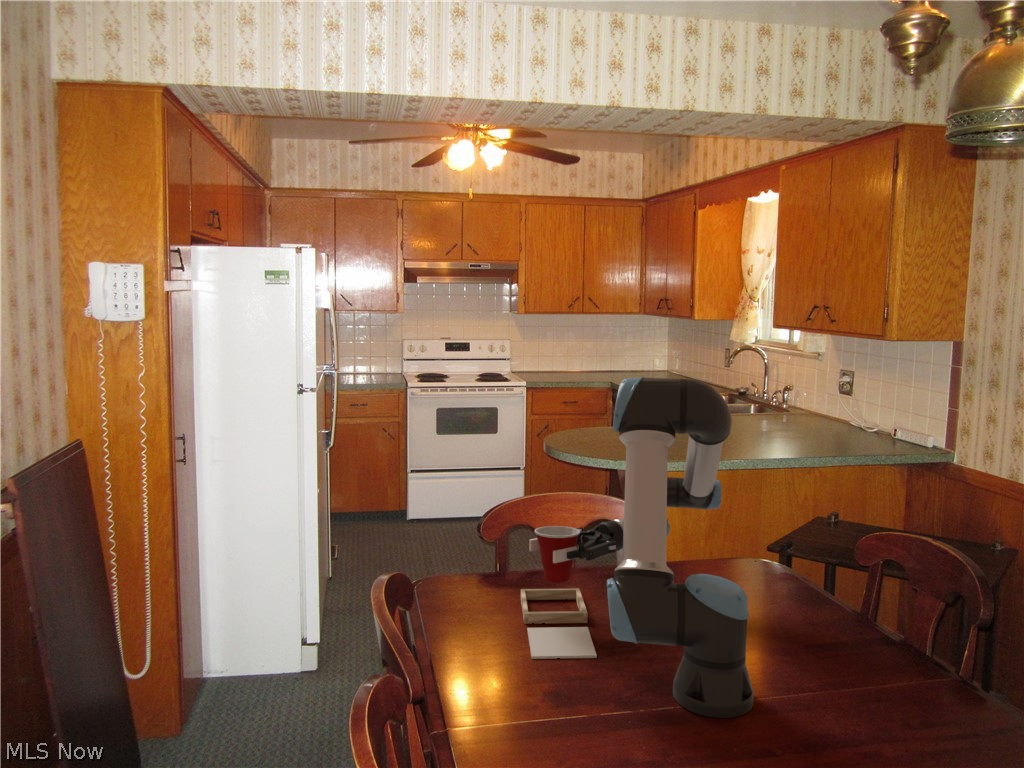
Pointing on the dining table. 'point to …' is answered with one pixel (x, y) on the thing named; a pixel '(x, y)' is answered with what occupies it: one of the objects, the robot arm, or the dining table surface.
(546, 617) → the birch collar
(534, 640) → the white tile
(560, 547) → the plastic cup
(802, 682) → the dining table surface
